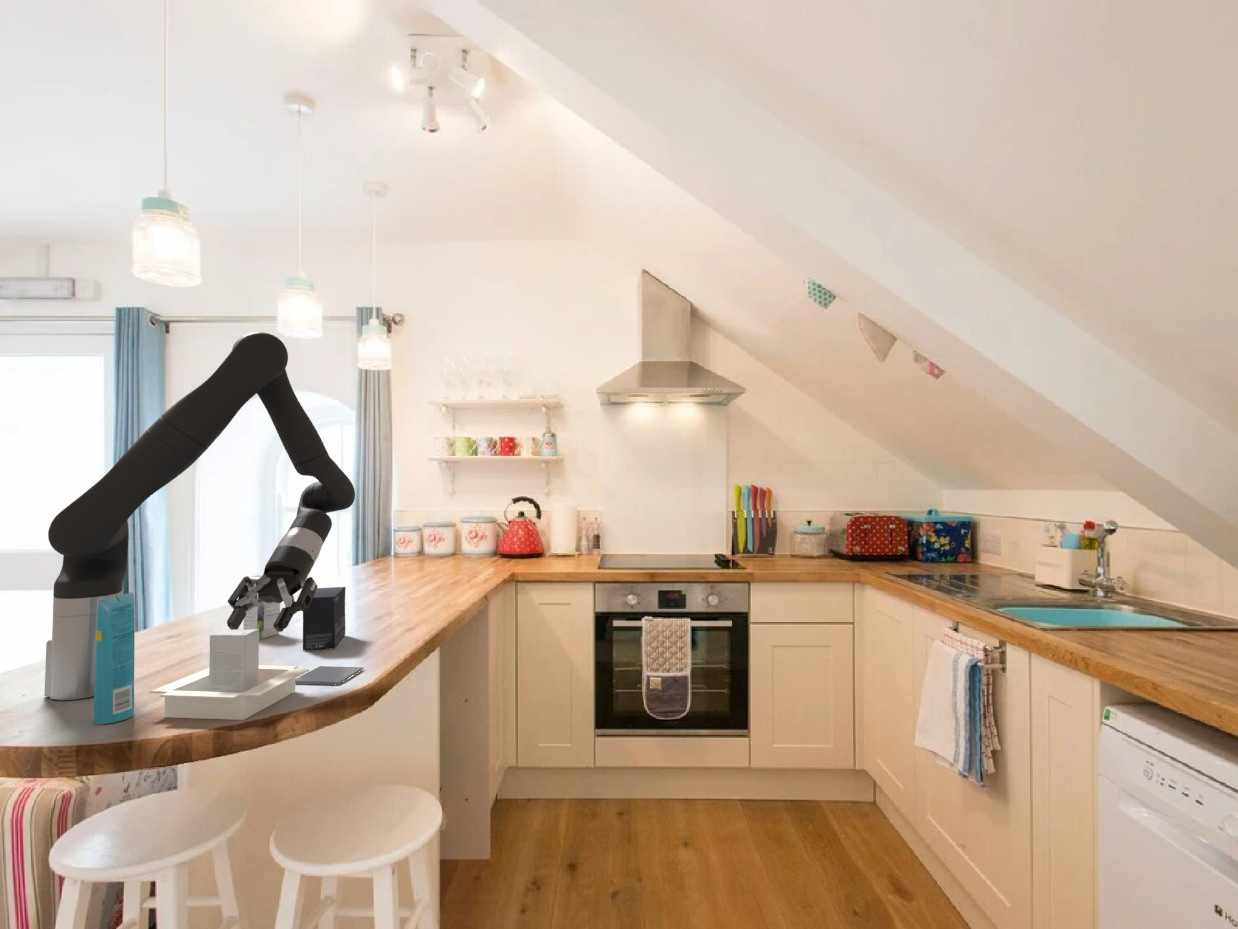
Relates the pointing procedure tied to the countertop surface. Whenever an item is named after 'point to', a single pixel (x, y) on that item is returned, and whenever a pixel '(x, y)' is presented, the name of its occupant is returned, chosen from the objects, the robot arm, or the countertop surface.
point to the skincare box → (234, 660)
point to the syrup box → (262, 616)
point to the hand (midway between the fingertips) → (254, 628)
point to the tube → (114, 660)
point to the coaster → (327, 675)
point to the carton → (227, 695)
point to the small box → (324, 619)
